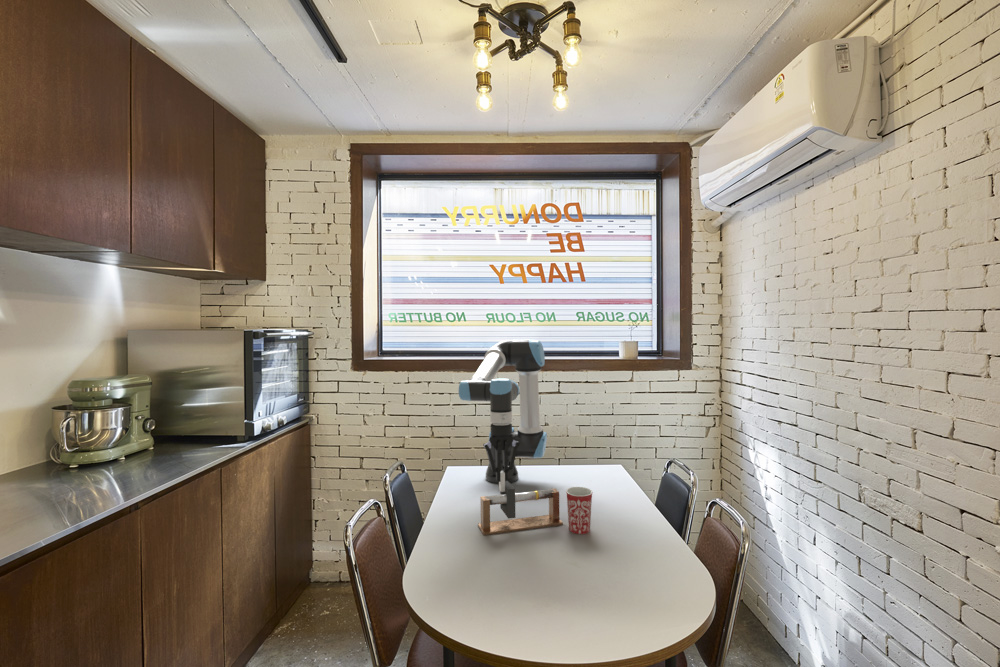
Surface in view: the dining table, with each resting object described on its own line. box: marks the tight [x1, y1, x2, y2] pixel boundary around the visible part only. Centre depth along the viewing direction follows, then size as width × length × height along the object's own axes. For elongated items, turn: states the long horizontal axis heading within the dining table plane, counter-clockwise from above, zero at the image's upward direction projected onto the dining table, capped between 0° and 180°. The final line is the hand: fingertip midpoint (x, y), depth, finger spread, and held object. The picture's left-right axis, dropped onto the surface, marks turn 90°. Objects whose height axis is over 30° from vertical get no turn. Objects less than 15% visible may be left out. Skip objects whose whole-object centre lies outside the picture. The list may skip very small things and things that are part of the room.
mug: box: [565, 486, 594, 535], centre depth 166 cm, size 13×9×14 cm
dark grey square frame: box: [499, 480, 516, 520], centre depth 167 cm, size 2×10×10 cm, turn 16°
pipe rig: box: [477, 488, 564, 536], centre depth 168 cm, size 29×8×12 cm, turn 106°
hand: (502, 490), depth 166 cm, fingers closed
